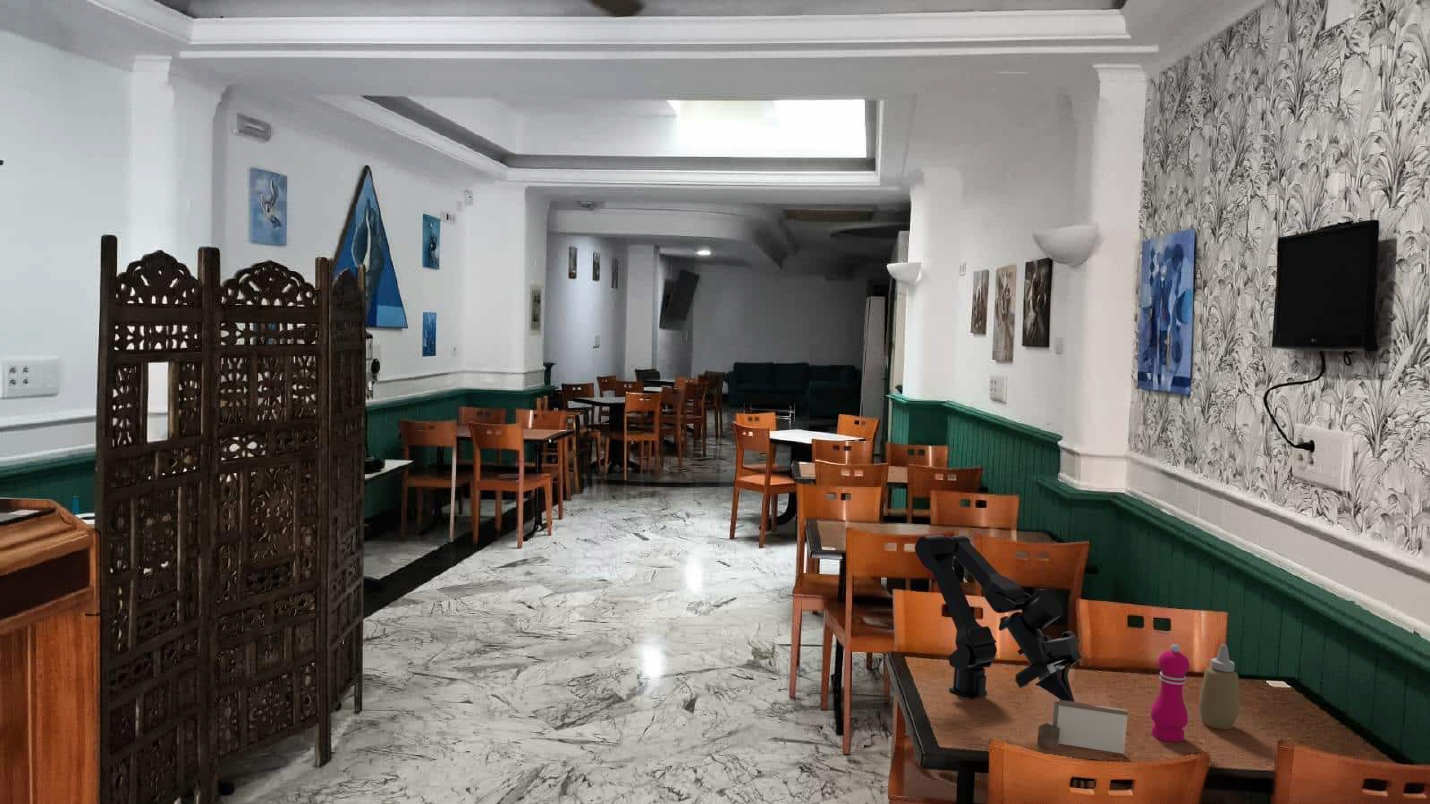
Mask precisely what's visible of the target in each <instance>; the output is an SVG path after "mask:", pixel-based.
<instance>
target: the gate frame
mask: <svg viewBox="0 0 1430 804" xmlns="http://www.w3.org/2000/svg"><path fill="white" fill-rule="evenodd" d="M1037 729H1038V730H1037V740H1036V741H1037V744H1036V745H1037V746H1038V747H1040V748H1043V749H1045V750H1048V751H1052V750H1054V749H1057V748H1058V747H1059V730H1060V728H1059V727H1056V726H1053V724H1050V723H1047V722H1046V723H1043V724H1040V725H1038V728H1037Z"/></svg>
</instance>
